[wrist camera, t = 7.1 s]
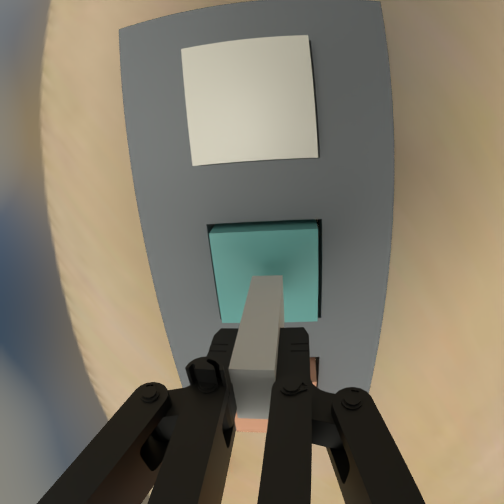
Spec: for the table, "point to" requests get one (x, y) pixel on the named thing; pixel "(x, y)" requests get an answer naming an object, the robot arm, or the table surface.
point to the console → (269, 175)
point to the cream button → (250, 100)
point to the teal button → (267, 264)
